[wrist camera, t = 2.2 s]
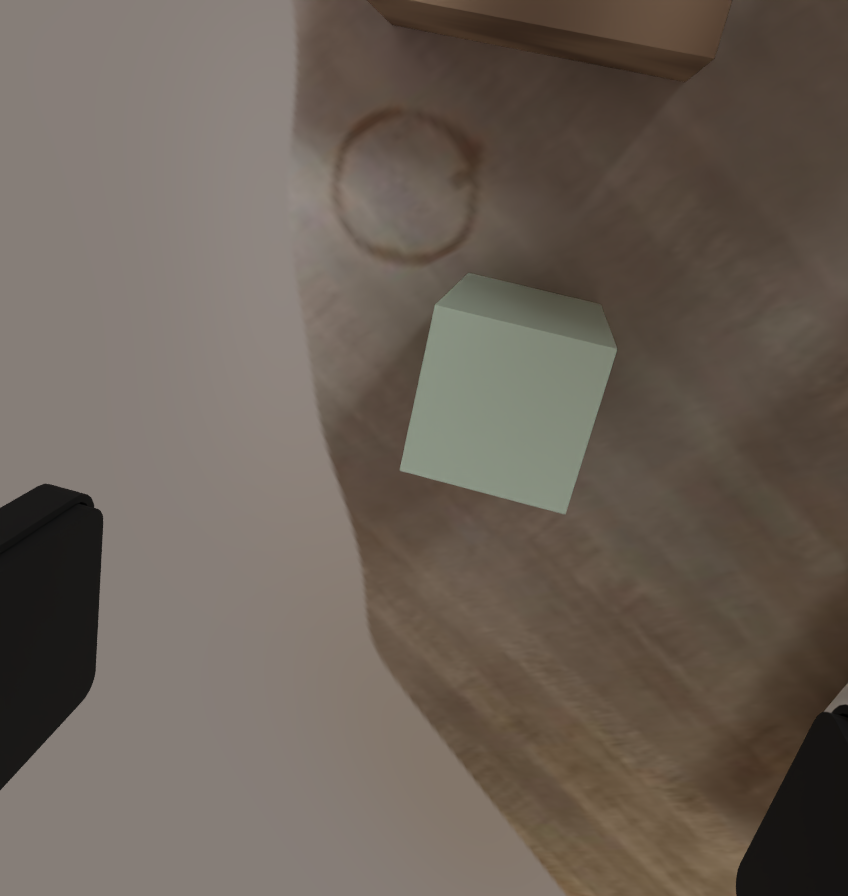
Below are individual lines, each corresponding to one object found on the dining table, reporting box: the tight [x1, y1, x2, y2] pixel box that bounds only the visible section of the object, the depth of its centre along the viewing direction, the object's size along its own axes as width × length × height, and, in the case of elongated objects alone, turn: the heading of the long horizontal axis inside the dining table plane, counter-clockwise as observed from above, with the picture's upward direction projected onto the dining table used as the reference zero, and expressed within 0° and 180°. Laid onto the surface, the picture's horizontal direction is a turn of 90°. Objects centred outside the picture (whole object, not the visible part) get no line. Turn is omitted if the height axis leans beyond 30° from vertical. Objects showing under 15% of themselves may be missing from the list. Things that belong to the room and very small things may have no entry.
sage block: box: [399, 273, 617, 514], centre depth 24 cm, size 5×5×8 cm
